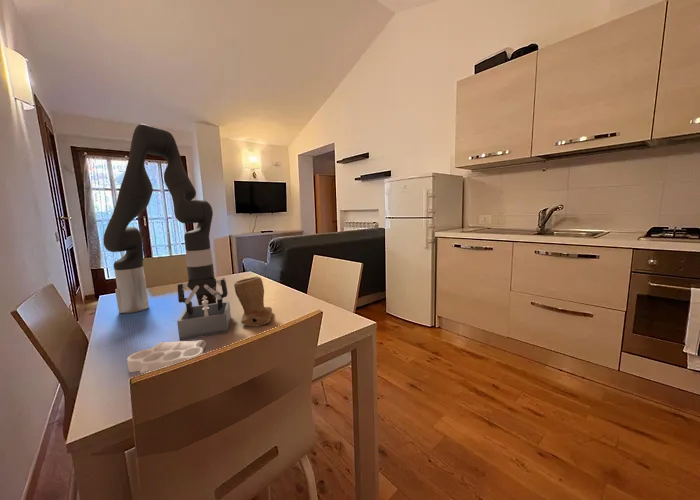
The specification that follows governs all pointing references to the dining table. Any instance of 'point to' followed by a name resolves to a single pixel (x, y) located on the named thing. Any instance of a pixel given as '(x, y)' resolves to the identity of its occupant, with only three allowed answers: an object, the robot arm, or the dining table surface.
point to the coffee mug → (210, 298)
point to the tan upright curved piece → (252, 301)
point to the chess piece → (205, 306)
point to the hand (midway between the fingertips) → (205, 311)
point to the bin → (204, 321)
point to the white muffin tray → (164, 355)
